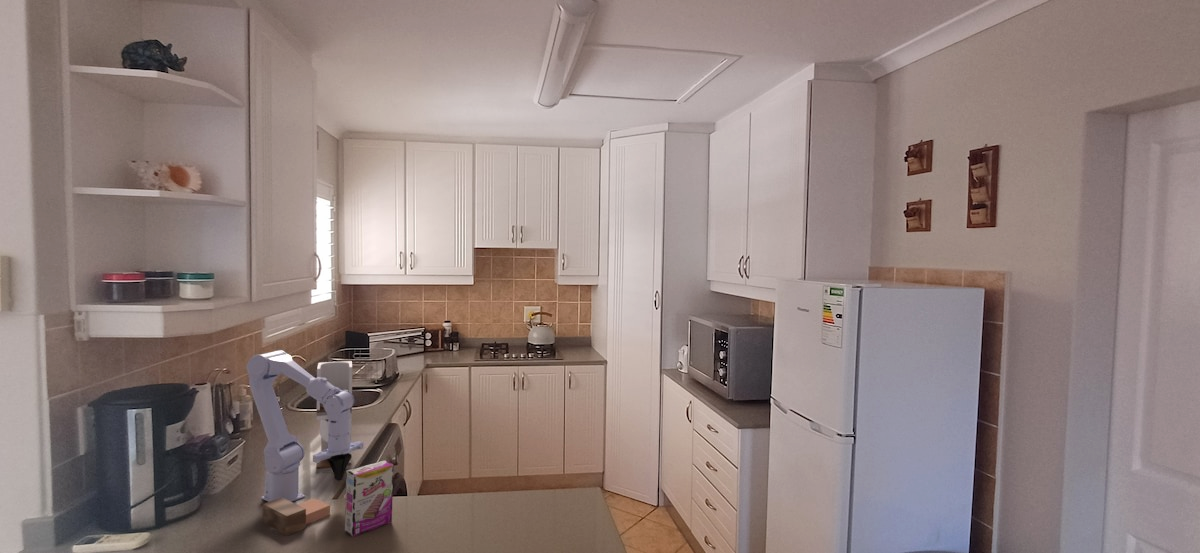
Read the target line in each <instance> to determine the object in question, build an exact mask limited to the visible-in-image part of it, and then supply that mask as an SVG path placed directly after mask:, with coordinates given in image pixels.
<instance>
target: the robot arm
mask: <svg viewBox="0 0 1200 553" xmlns="http://www.w3.org/2000/svg"><path fill="white" fill-rule="evenodd" d="M245 368H246V371H247V373H248V374H247V375H248V384H249V385H248V386H249V389H250V391H251V395H252V397H253V401H254V404H255V407H256V408H257V413H258V415H259V417H260V420H261V424H262V427H263V430H264V432H265V435H266V436H265V437H266V439H267V440H268V441H267V443H266V446H265V447H264V449H263V455H264V466H265V468H266V470H267V471H266V473H265V476H264V495H262V496H261V499H262V500H264V501H266V502H270V501H273V500H276V499H279V498H284V499H286V500H288V501H291V502H294V501H297V500H300V499H304V498H305V495H304V494H303V493H301V492H299V484H300V483H299V476H300V475H299V474H300V471H299V469H300V468H299V467H300V466H301V462H302V460H303V459H304V458H305V453H306V452H305V448H304V447H303V445H302V444H301V443H300V441H299V439H298V437H297V436H295V435H293V434H291V433H289V430H288V427H287V424H286V421H285V418H284V415H283V413H282V409H281V406H280V404H279V400H278V398H277V395H276V393H275V389H274V386H273V384H274V383H275V381H276V379H277V378H278V377H279V376H280V375H284V376H286V377H287V378H290V379H291V380H293V381H294V382H296V383H298V384H300V385H301V386H303V387H304V388H305V391H306V392H305V393H306V394H308V395H309V396H310V397H311V398H313V399H314V400H316V402H317V401H319V402H320V403H322V404H323V405H324V409H325V411H326V412H327V418H328V449H326V450H324V451H322V452H321V451H319V452H318V453H315V454H313V455H312V462H313V463H314V464H315V463H319V462H320V461H322V460H325V459H326V460H327V461H328V463H329V464H330V466H331V468H332V471H331V472H332V474H333V478H334V480H335V481H337V482H340V481H343V480H344V476H345V473H346V471H347V469H346V467H347V465H348V463H349V461H350V459H351V460H352V458H353V456H352V452H354V451H357V450H363V449H364V442H362V441H360V440H359V441H354V442H351V443H350V408H351V407H352V408H353V406H354V404H355V397H354V395H353V392H352V393H350V391H348V390H340V389H339V388H338V387H337V388H336V387H335V386H333V385H332V384H330V383H329V382H327V379H326V378H322V377H317V376H316V377H314V376H313V375H312V374H311V373H309V372H308V371H307V370H305V369H304V368H303V367H302V366H300V364H298V363H297V362H296V361H295V360H293V358H292V355H291V354H288V353H287V352H286V351H284V350H282V349H278V350H277V349H276V350H274V351H271V352H270V351H269V352H266V353H262V354H260V353H259V354H254V355H252V356H251V357H250V359H249V360H248V361H247V364H246V365H245ZM350 452H351V454H349V453H350Z"/></svg>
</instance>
